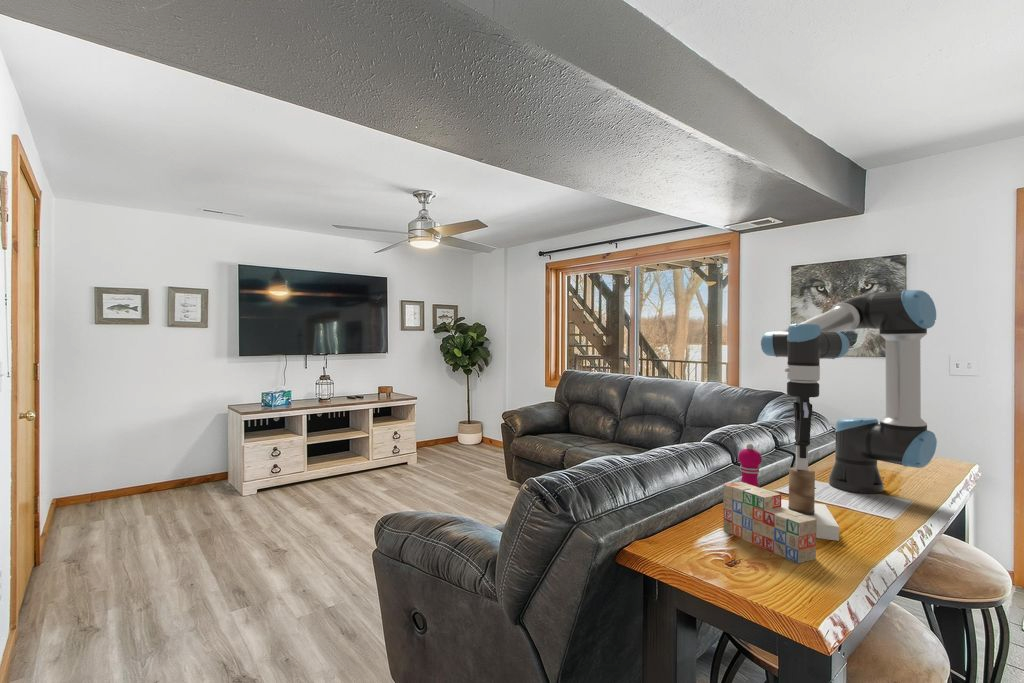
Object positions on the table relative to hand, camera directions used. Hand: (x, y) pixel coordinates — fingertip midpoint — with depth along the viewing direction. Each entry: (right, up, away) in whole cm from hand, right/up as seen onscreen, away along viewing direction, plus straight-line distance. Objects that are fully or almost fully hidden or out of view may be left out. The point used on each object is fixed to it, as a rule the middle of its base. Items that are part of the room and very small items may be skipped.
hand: (801, 469), depth 136 cm
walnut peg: (0, -14, 0) cm, 14 cm away
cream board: (0, -15, 0) cm, 15 cm away
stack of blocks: (-16, -15, -13) cm, 25 cm away
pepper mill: (-11, -15, +8) cm, 20 cm away
